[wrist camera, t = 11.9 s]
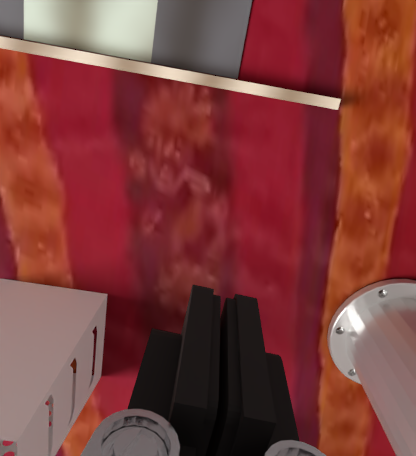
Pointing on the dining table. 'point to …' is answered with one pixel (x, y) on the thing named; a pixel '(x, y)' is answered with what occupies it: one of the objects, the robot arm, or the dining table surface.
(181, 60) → the channel
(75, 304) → the grater
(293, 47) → the dining table surface
